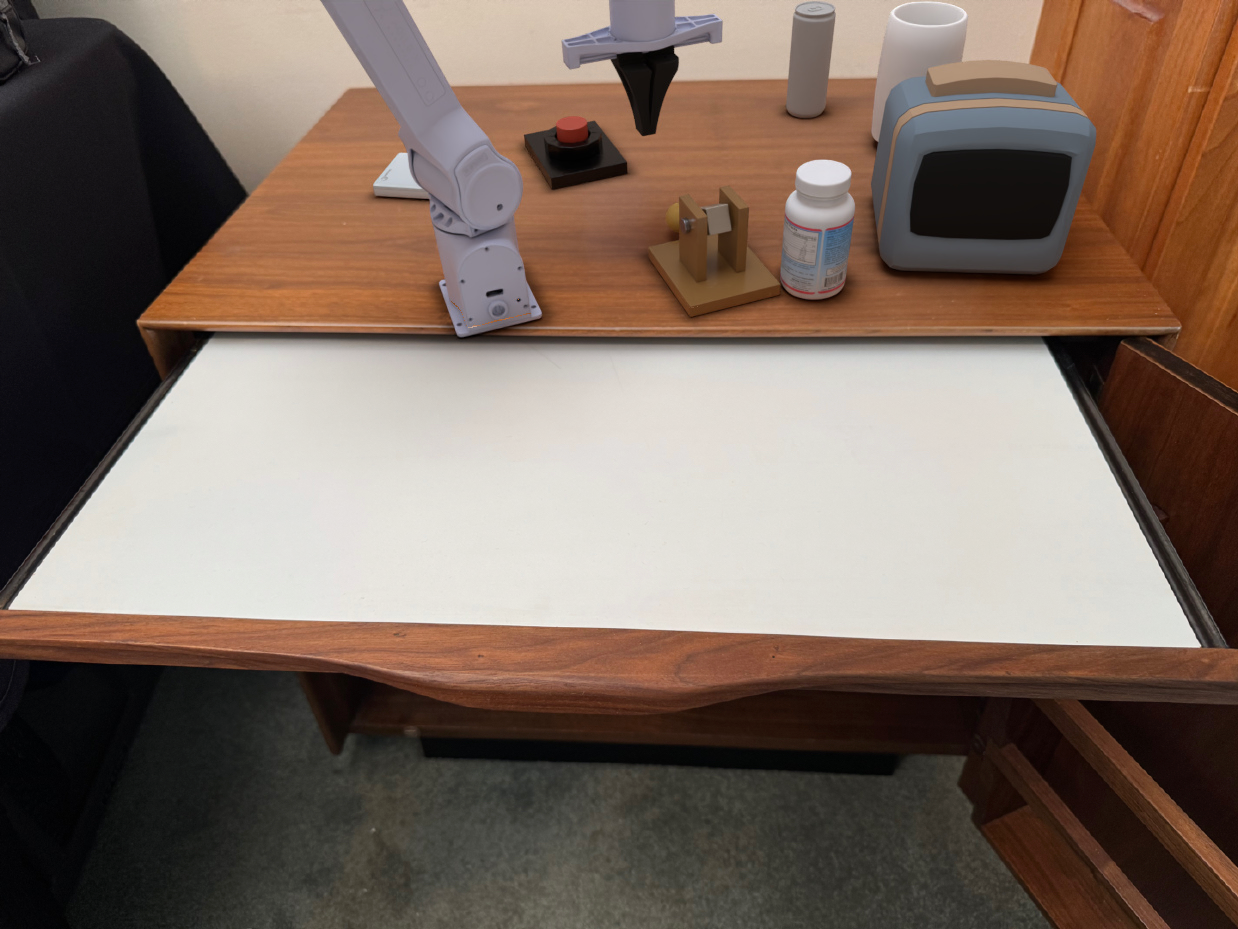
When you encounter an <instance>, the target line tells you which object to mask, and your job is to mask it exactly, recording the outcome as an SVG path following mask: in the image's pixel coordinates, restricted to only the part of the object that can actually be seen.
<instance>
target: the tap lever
mask: <svg viewBox="0 0 1238 929" xmlns="http://www.w3.org/2000/svg"><path fill="white" fill-rule="evenodd" d="M699 207H700V208H701V209H702V210H703V212H704V213H705V214H706V215H707V216H708V222H707V235H709V236H711V235H715V234H719V233H724V232H728V231H731V230H732V229H731V222H730V215H729V208H728V204H719V203H713V204H708V205H704V206H699ZM665 223H666V225H667V227H668V228H669V229H670V230H671V231H673V232H674V233H678V234H679V201H678V202H674V203H673V204H671V205H670V206H669V207H668V209H667V210H666V212H665Z"/></svg>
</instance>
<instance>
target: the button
mask: <svg viewBox="0 0 1238 929" xmlns="http://www.w3.org/2000/svg"><path fill="white" fill-rule="evenodd" d="M587 122H588V120H587V118H584V117H582V116H578V115H570V116H565V117H562V118H559V119H558V120H557V121H556V122H555V126H556V130H557V139H558V141H561V142H564V143H575V142H580V141H584V140H585V139H587V138H588V125H587Z"/></svg>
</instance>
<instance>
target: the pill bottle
mask: <svg viewBox="0 0 1238 929" xmlns="http://www.w3.org/2000/svg"><path fill="white" fill-rule="evenodd" d="M851 170H852V169H850V167H849V166H848V165H846V164H844V163H843V162H840V161H836V160H831V159H814V160H810V161H807V162H804V163H803V164H801V165H800V166H798V168H797V169H796V173H795V181H794V185H795V186H794V187H795V189H794V190H793V191H792V192H791V193H790V194H789V196H788V198H787V200H786V202H785V207H784V219H783V232H782V244H781V245H782V247H781V260H780V270H779V271H780V272H779V273H780V274H779V280H780V284H781V286H782V287H783V288H784V289H785V290H786V292H788V294H790V295H792V296H794V297H796V298H800V299H803V300H804V299H805V300H823V299H828V298H830V297H833V296H835V295H837V294H838V293H840V291H842V290H843V288H844V286H845V284H846V278H847V271H848V264H849V256H850V249H851V242H852V235H853V229H854V220H855V214H856V203H855V200H854V198H853V196H852V194H850V192H849V190H850V188H851V183H852V181H851V180H852V171H851Z"/></svg>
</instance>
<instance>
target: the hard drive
mask: <svg viewBox="0 0 1238 929" xmlns="http://www.w3.org/2000/svg"><path fill="white" fill-rule="evenodd" d="M372 188H373V194H374V196H375V197H390V198H404V199H405V198H406V199H420V200H421V199H423V200H424V199H425V200H429V195H428V193H430V192H427V191H425V190H424V189H422V188H421V187H420V186H419V185H418V184H417V183H416V182H415V181H414V179H413V177H412V175H411V173H410V169H409V162H408V154H407V152H398V153H397V154H396V156H395V157H394V158H393V159H392V160H391V162H390V163H389V164H388V165H387V166H386V168H384V170H383V172H382V173H381V174H380V175H379V176H378V177H377V179H376V180H375V181H374V182H373V184H372Z"/></svg>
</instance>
